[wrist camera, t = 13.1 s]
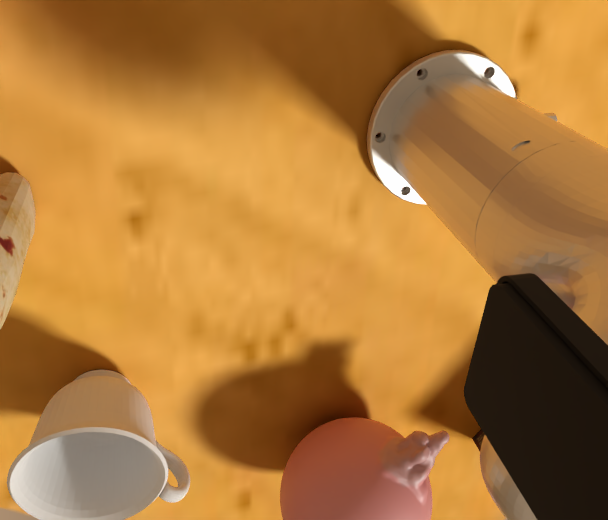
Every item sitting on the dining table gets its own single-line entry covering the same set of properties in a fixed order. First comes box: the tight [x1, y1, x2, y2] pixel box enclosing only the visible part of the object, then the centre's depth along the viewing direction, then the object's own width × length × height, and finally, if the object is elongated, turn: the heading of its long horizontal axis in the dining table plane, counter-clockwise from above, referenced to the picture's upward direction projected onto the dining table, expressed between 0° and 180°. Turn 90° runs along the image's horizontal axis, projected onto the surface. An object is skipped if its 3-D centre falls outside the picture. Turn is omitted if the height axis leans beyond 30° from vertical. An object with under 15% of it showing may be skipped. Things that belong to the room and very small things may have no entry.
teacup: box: [7, 370, 190, 520], centre depth 49 cm, size 12×15×10 cm
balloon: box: [280, 417, 449, 520], centre depth 56 cm, size 15×20×15 cm
